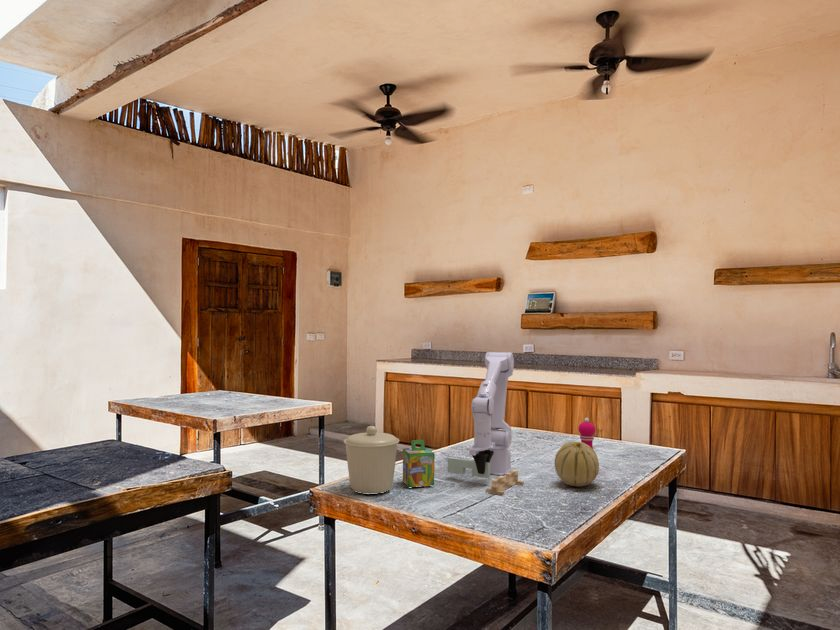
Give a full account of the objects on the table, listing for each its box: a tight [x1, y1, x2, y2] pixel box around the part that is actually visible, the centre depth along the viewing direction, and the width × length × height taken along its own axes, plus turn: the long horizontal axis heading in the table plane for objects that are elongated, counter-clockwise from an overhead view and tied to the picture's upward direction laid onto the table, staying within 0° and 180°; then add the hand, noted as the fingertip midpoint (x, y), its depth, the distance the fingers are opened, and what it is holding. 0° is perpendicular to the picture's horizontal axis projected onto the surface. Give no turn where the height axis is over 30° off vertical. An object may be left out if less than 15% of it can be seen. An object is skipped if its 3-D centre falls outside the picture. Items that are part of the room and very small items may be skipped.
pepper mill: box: [577, 417, 596, 450], centre depth 210 cm, size 7×7×20 cm
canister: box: [343, 425, 400, 493], centre depth 186 cm, size 18×18×21 cm
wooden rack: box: [485, 469, 525, 496], centre depth 189 cm, size 16×6×4 cm, turn 145°
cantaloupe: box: [554, 441, 600, 488], centre depth 192 cm, size 15×15×15 cm
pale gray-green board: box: [447, 456, 491, 480], centre depth 197 cm, size 2×16×5 cm, turn 55°
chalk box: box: [402, 439, 436, 488], centre depth 193 cm, size 9×9×15 cm
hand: (482, 472), depth 194 cm, fingers closed on pale gray-green board, 2 cm apart
